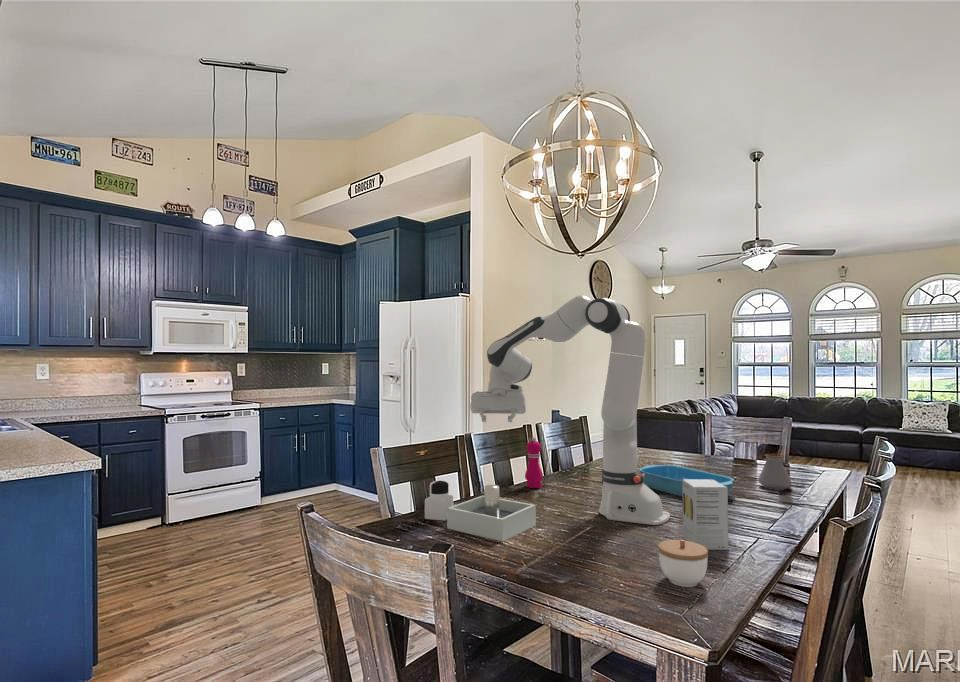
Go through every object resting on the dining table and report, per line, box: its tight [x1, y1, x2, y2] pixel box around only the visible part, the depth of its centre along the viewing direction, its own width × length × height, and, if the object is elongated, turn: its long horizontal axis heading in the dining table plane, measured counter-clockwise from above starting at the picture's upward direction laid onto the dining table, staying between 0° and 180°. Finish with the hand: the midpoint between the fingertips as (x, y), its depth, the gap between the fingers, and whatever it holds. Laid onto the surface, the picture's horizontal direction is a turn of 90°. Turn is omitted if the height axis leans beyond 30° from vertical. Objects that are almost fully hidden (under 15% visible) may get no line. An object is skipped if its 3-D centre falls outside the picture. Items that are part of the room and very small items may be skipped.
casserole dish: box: [639, 464, 735, 498], centre depth 206 cm, size 37×22×7 cm, turn 31°
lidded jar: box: [657, 539, 709, 588], centre depth 122 cm, size 11×11×9 cm
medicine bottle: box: [424, 480, 454, 522], centre depth 171 cm, size 7×7×12 cm
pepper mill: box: [524, 436, 544, 489], centre depth 213 cm, size 7×7×20 cm
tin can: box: [484, 484, 500, 517], centre depth 160 cm, size 4×4×9 cm
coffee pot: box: [757, 445, 792, 491], centre depth 214 cm, size 21×12×15 cm, turn 139°
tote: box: [446, 495, 537, 542], centre depth 160 cm, size 20×18×7 cm
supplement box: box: [682, 479, 729, 551], centre depth 147 cm, size 10×9×17 cm
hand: (496, 421), depth 189 cm, fingers open, 8 cm apart
